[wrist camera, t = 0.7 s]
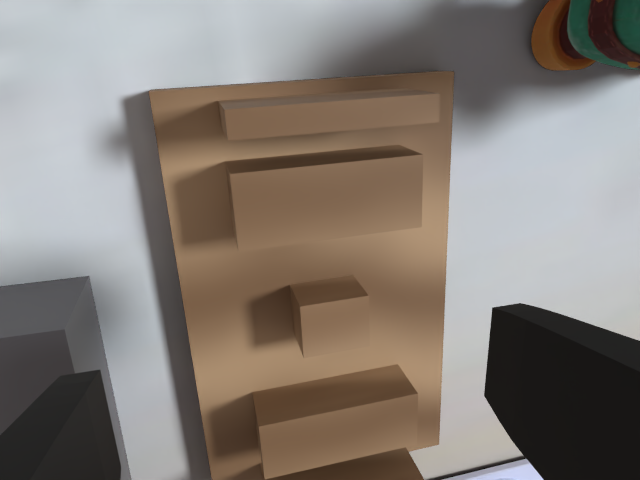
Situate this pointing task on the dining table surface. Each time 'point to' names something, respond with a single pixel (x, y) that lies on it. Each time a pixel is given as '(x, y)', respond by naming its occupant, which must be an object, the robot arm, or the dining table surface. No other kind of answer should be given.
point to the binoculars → (587, 34)
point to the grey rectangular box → (50, 346)
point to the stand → (312, 268)
